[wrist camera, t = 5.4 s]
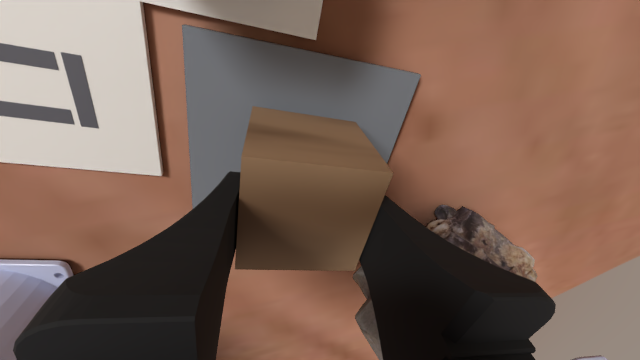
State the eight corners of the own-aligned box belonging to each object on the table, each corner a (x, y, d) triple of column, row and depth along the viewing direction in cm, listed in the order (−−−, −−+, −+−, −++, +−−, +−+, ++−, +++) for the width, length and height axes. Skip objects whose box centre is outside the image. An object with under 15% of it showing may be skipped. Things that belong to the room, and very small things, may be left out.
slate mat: (358, 231, 19) (359, 234, 19) (195, 222, 17) (193, 226, 16) (417, 73, 14) (421, 75, 13) (184, 24, 11) (182, 25, 11)
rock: (435, 246, 26) (571, 273, 18) (382, 366, 22) (529, 478, 13) (383, 187, 22) (523, 186, 14) (308, 317, 18) (444, 428, 10)
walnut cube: (333, 202, 16) (354, 271, 12) (246, 195, 15) (234, 269, 10) (355, 121, 13) (393, 172, 9) (252, 106, 12) (241, 156, 8)
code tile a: (163, 173, 15) (161, 176, 14) (-21, 156, 13) (-27, 160, 12) (142, 1, 10) (139, 1, 10) (-134, -60, 9) (-147, -63, 8)
